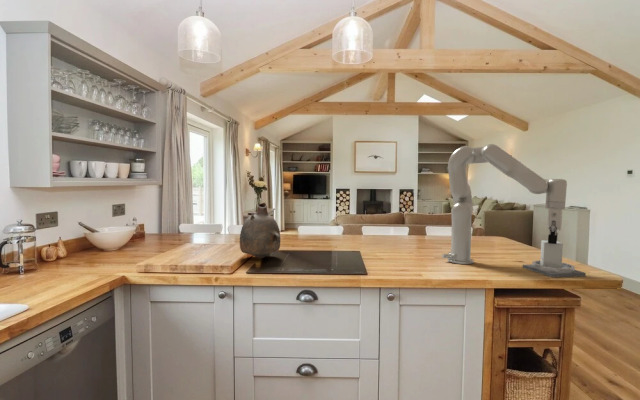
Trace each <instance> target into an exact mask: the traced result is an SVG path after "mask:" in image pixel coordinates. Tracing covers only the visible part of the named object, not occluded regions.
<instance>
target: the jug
mask: <svg viewBox="0 0 640 400" xmlns="http://www.w3.org/2000/svg"><path fill="white" fill-rule="evenodd" d="M280 247H281V230H280V228H279V225H278V223H277V221H276V219H275V218H274V217H273V216H271V215H269V213H268V207H267V203H266V202H262V203H258V204H257V210H256V213H254V214H251V215H249V216H248V217H247V218H246V219H245V220H244V222H243V223H242V226H241V230H240V235H239V249H240V251H241V253H244V254H247V255H250V256H254V257H255V258H257V259H263V258H265V257H267V256H269V255H271V254H275V253H276V252H278V251H279V250H280Z"/></svg>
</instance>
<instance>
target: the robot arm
mask: <svg viewBox="0 0 640 400" xmlns="http://www.w3.org/2000/svg"><path fill="white" fill-rule="evenodd" d="M483 163H484V164H485V163H489V164H490V165H492V166H493V168H496V169H497V170H498V171H499V172H501V173H502V174H504V175H506V176H507V177H509V178H511V179H513V180H515V182H517V183H518V184H520V185H521V186H523V187H524V188H526V189H527V190H528V191H529V192H530V193H531V194H534V195H541V194H542V195H543V194H545V205H544V207H545V209H547V230H549V231H548V236H547V238H548V239H547V241H548V243H550V244H556V243H557V241H558V233H559V232H560V231H561V230H562V221H563V210H566V201H567V186H568V182H567V180H566V179H563V178H550V179H545V178H543V177H542V176H540V175H539V174H537V173H536V172H534V171H533V170H532V169H530V168H529V167H527V166H526V165H525V164H523V163H522V162H521V161H519V160H518V159H517V158H516V157H513V156H512V155H511V154H509V153H508V152H507V151H506V150H504V149H502V148H501V147H500V146H498V145H496V144H494V143H490V144H486V145H485V146H480V147H471V146H469V145H462V146H460V147H459V148H457V149H456V150H454V152H453V153H451V155H450V157H449V159H448V163H447V172H448V182H449V191H450V193H449V194H450V195H451V196H452V201H453V206H452V207H451V214H450V215H451V217H450V218H451V240H450V241H451V242H450V243H451V244H450V247H451V248H450V251H449V253H447V254H446V253H445V254H443V253H442V255H441V257H442V259H446V258H447V261H448V262H450V263H451V264H452V263H453V264H459V265H471V264H474V262H475V261H474V259H472V258H471V257H472V256H471V254H472V252H471V251H472V214H473V212H474V206H473V205H474V204H473V198H472V197H473V196H472V190H471V186H470V185H469V183H468V178H467V171H466V166H467V165H468V164H469V165H471V164H483Z"/></svg>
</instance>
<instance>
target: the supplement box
mask: <svg viewBox="0 0 640 400" xmlns="http://www.w3.org/2000/svg"><path fill="white" fill-rule="evenodd" d="M563 245H564V244H563V242H561V241H560V240H557V243H556V244H550V243H548V240H543V239H542V240H541V242H540V260H541V262H540V265H542V266H547V267H554V268H562V263H563V248H564V247H563Z"/></svg>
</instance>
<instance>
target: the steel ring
mask: <svg viewBox="0 0 640 400" xmlns="http://www.w3.org/2000/svg"><path fill="white" fill-rule="evenodd" d="M540 262H541V259H540V260H537V259H536V260H533V261H532V262H531V264H532V267H534V268H536V269H539V270H543V271H547V272H555V273H573V272H575V270H576V267H575V265H573V264H570V263H567V262H562V267H564V268H554V267H547V266H542V265H540Z"/></svg>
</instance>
